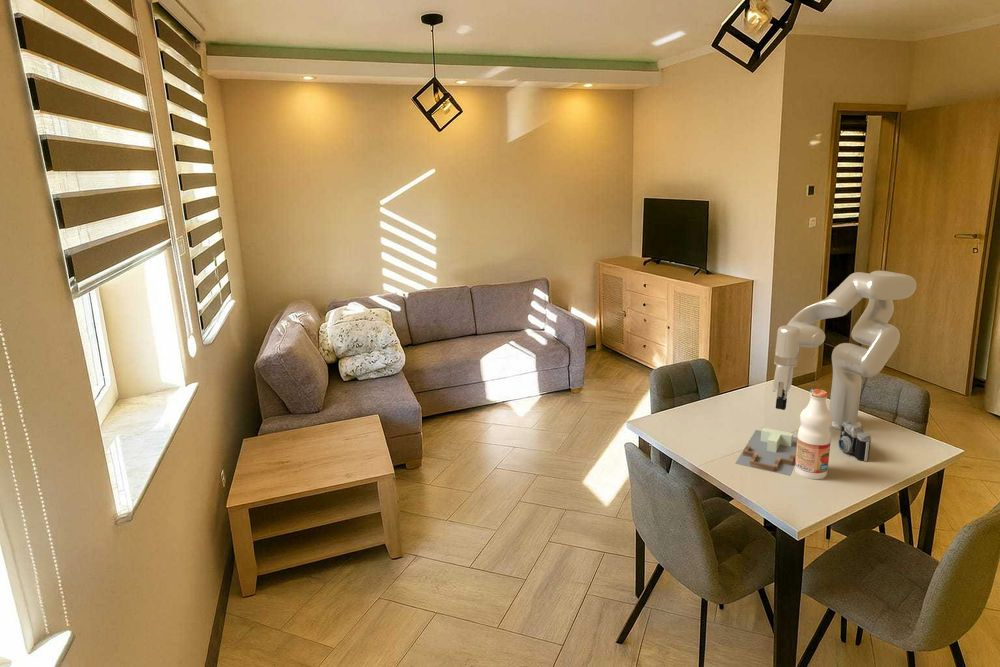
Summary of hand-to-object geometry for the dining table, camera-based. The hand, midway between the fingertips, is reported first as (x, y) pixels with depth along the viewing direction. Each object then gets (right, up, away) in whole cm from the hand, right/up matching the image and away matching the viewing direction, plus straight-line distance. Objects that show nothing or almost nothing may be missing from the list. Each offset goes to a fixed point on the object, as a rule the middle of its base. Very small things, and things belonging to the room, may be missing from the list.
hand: (780, 408), depth 220 cm
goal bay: (-12, -16, -16) cm, 26 cm away
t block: (-5, -13, -6) cm, 15 cm away
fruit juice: (-2, -18, -25) cm, 31 cm away
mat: (-7, -14, -9) cm, 18 cm away
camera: (+18, -14, -12) cm, 26 cm away
